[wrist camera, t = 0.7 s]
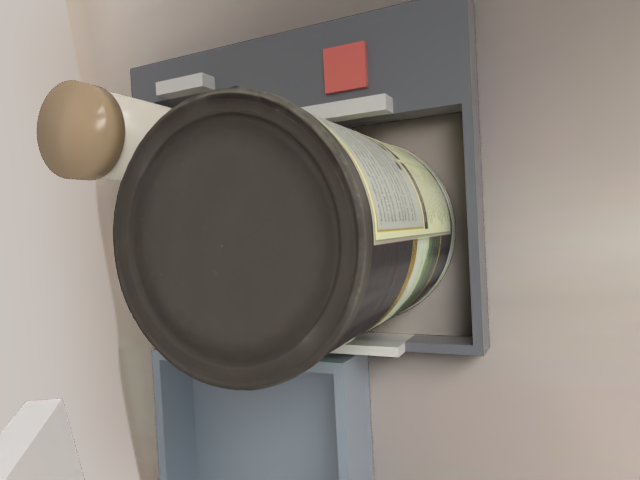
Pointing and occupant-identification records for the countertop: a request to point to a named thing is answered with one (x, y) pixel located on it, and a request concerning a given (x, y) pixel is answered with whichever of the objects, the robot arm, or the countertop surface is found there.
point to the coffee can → (271, 236)
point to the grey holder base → (362, 106)
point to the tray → (266, 425)
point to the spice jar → (92, 130)
